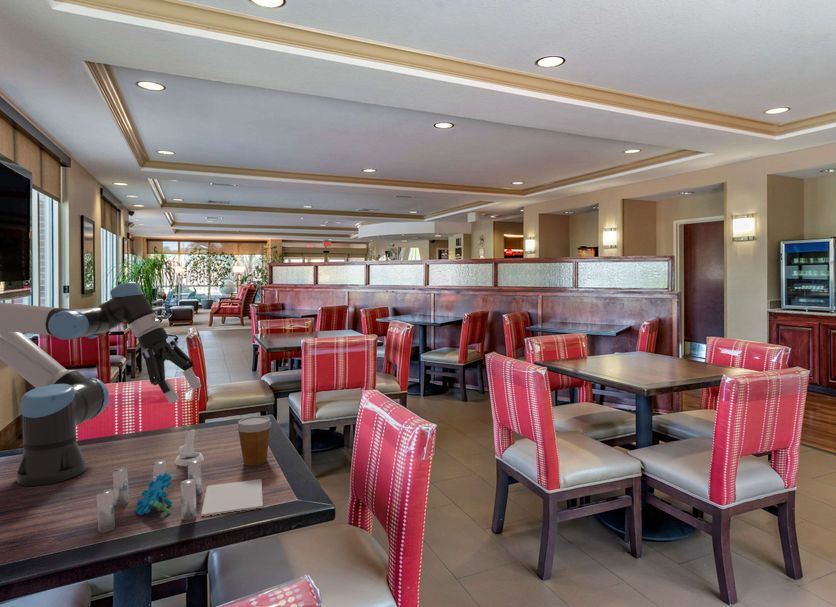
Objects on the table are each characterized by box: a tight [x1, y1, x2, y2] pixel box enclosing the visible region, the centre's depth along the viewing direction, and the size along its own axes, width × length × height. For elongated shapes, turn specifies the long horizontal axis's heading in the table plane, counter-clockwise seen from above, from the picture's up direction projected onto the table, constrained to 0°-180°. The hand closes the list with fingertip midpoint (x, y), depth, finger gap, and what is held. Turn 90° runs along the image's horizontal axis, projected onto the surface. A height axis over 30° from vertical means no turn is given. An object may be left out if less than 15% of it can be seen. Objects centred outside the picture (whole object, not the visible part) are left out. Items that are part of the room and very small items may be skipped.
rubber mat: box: [200, 478, 264, 517], centre depth 123 cm, size 13×16×1 cm
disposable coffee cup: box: [236, 415, 272, 467], centre depth 146 cm, size 10×10×12 cm
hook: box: [174, 428, 205, 467], centre depth 146 cm, size 8×12×7 cm
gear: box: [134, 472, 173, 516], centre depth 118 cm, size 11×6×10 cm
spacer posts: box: [96, 459, 203, 534], centre depth 118 cm, size 19×18×8 cm
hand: (186, 394), depth 152 cm, fingers open, 13 cm apart
